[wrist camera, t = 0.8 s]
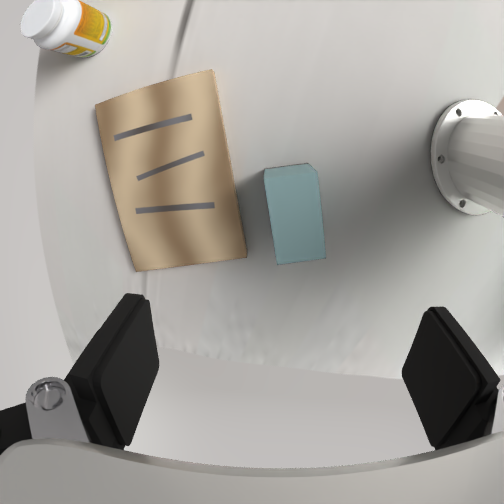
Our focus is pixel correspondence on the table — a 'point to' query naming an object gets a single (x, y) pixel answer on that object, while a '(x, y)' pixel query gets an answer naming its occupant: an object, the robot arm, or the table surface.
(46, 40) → the supplement bottle
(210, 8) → the table surface
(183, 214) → the board
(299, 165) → the block
